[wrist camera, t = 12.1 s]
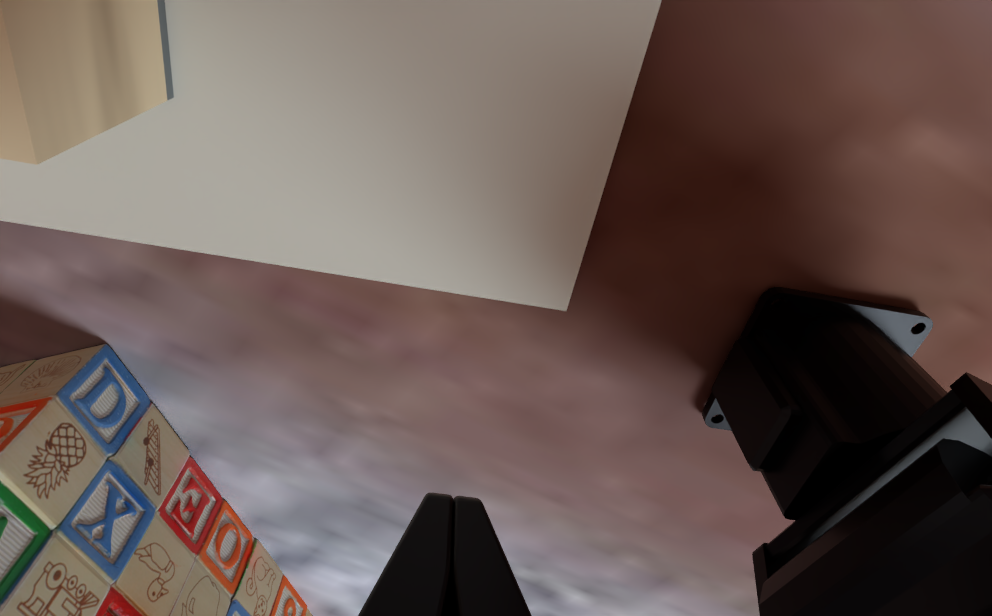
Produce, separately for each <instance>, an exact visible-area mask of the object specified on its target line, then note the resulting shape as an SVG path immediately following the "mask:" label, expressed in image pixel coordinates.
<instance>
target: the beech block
mask: <svg viewBox="0 0 992 616" xmlns="http://www.w3.org/2000/svg"><path fill="white" fill-rule="evenodd" d="M172 98H174V93H173V82H172V72H171V62H170V51H169V41H168V30H167V20H166V10H165V0H0V159H6V160H12V161H18V162H24V163H30V164H35V165H38V164H40V163H42V162H44V161H46V160H48V159H50V158H52V157H54V156H56V155H58V154H60V153H62V152H64V151H66V150H68V149H70V148H72V147H74V146H76V145H78V144H80V143H82V142H84V141H86V140H88V139H91V138H93V137H95V136H97V135H99V134H101V133H103V132H105V131H107V130H109V129H111V128H113V127H115V126H117V125H119V124H121V123H123V122H125V121H127V120H129V119H131V118H133V117H135V116H137V115H139V114H141V113H143V112H145V111H147V110H149V109H151V108H153V107H155V106H158V105H160V104H162V103H164V102H166V101H168V100H170V99H172Z"/></svg>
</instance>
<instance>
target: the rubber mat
mask: <svg viewBox="0 0 992 616" xmlns="http://www.w3.org/2000/svg"><path fill="white" fill-rule="evenodd" d="M661 1H662V0H165V10H166V20H167V30H168V41H169V51H170V62H171V72H172V82H173V93H174V98H172V99H170V100H168V101H166V102H164V103H162V104H160V105H158V106H155V107H153V108H151V109H149V110H147V111H145V112H143V113H141V114H139V115H137V116H135V117H133V118H131V119H129V120H127V121H125V122H123V123H121V124H119V125H117V126H115V127H113V128H111V129H109V130H107V131H105V132H103V133H101V134H99V135H97V136H95V137H93V138H91V139H88V140H86V141H84V142H82V143H80V144H78V145H76V146H74V147H72V148H70V149H68V150H66V151H64V152H62V153H60V154H58V155H56V156H54V157H52V158H50V159H48V160H46V161H44V162H42V163H40V164H38V165H35V164H30V163H24V162H18V161H12V160H6V159H0V220H1V221H7V222H13V223H19V224H26V225H32V226H38V227H44V228H51V229H57V230H63V231H69V232H76V233H82V234H88V235H94V236H100V237H107V238H113V239H119V240H125V241H132V242H138V243H144V244H150V245H157V246H163V247H169V248H175V249H182V250H188V251H194V252H200V253H207V254H213V255H219V256H225V257H232V258H238V259H244V260H250V261H257V262H263V263H269V264H275V265H281V266H288V267H294V268H300V269H306V270H313V271H319V272H325V273H331V274H338V275H344V276H350V277H356V278H363V279H369V280H375V281H381V282H388V283H394V284H400V285H406V286H413V287H419V288H425V289H431V290H438V291H444V292H450V293H456V294H462V295H469V296H475V297H481V298H487V299H494V300H500V301H506V302H512V303H519V304H525V305H531V306H537V307H544V308H550V309H556V310H562V311H567V307H568V304H569V301H570V298H571V294H572V291H573V288H574V285H575V281H576V278H577V275H578V272H579V268H580V265H581V262H582V259H583V255H584V252H585V249H586V245H587V242H588V239H589V236H590V232H591V229H592V226H593V223H594V219H595V216H596V213H597V210H598V206H599V203H600V200H601V197H602V193H603V190H604V187H605V183H606V180H607V177H608V174H609V170H610V167H611V164H612V161H613V157H614V154H615V151H616V148H617V144H618V141H619V138H620V135H621V131H622V128H623V125H624V122H625V118H626V115H627V112H628V108H629V105H630V102H631V99H632V95H633V92H634V89H635V86H636V82H637V79H638V76H639V73H640V69H641V66H642V63H643V60H644V56H645V53H646V50H647V47H648V43H649V40H650V37H651V33H652V30H653V27H654V24H655V20H656V17H657V14H658V11H659V7H660V4H661Z"/></svg>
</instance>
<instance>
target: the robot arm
mask: <svg viewBox="0 0 992 616" xmlns="http://www.w3.org/2000/svg"><path fill="white" fill-rule="evenodd" d="M777 299H780V301H779V302H778V303H777V304H775V305H771V304H772V302H773V301H775V300H777ZM917 323H918V324H917ZM915 324H917V325H916V326H915V327H913V326H914V325H915ZM932 327H933V322H932V320H931V319H930V318H929V317H928V316H926V315H925V314H924V313H922V312H920V311H915V310H909V309H903V308H897V307H892V306H886V305H880V304H874V303H868V302H863V301H857V300H851V299H845V298H839V297H834V296H828V295H822V294H816V293H810V292H805V291H799V290H793V289H787V288H781V287H774V288H771V289H768V290H767V291H765V292H764V293H763V294H762V296H761V297H760V299H759V301H758V303H757V305H756V307H755V309H754V311H753V313H752V315H751V317H750V319H749V321H748V322H747V324H746V326H745V328H744V330H743V332H742V334H741V336H740V338H739V339H738V340H736V342H735V344H734V346H733V348H732V350H731V352H730V354H729V356H728V357H727V359H726V361H725V363H724V365H723V367H722V369H721V371H720V373H719V375H718V377H717V379H716V381H715V383H714V385H713V387H712V393H711V395H710V397H709V399H708V401H707V403H706V405H705V407H704V409H703V411H702V416H703V419H704V421H705V423H706V425H707V426H709V427H711V428H717V429H724V430H731V431H732V432H733V434H734V436H735V438H736V440H737V442H738V444H739V446H740V448H741V450H742V452H743V454H744V456H745V458H746V460H747V462H748V464H749V466H750V467H751V468H752V470H753V471H761V473H762V475H763V477H764V479H765V481H766V483H767V484H768V486H769V488H770V490H771V492H772V494H773V496H774V498H775V500H776V502H777V504H778V506H779V508H780V510H781V512H782V514H783V515H784V517H785V518H786V519H790V520H796V521H795V522H793V523H792V524H791V525H790V526H789V527H787V528H786V529H785V530H784V531H783V532H781V533H780V534H779V535H778V536H777V537H775V538H774V539H773V540H772V541H771V542H770V543H763V544H762V545H761V546H760V547H759V548H757V549H756V550H755V551H754V552H753V554H752V555H753V564H754V572H755V580H756V588H757V596H758V604H759V613H760V616H992V385H991V384H989V383H987V382H985V381H983V380H981V379H979V378H977V377H975V376H973V375H971V374H969V373H967V372H966V373H965V374H963V375H962V376H961V377H960V378H959V379H958V380H956V381H955V382H954V383H953V384H952V385H950V388H951V389H952V390H951V391H949V392H948V393H947V392H946V391H945V390H944V389H943V388H942V387H941V386H940V385H939V384H938V383H937V382H936V381H935V380H934V379H933V378H932V377H931V376H930V375H929V374H928V373H927V372H926V371H925V370H924V369H923V368H922V367H921V366H920V365H919V364H918V363H917V362H916V361H915V360H914V359H913V358H912V356H913V355H914V353H915V352H916V350H917V349H918V348H919V346H920V345H921V343H922V342H923V341H924V339H925V338H926V337H927V335H928V334H929V332H930V331H931V329H932ZM716 414H719V415H718V416H715V417H713V416H714V415H716ZM358 616H531V613H530V611H529V609H528V607H527V604H526V602H525V600H524V597H523V595H522V593H521V590H520V588H519V586H518V584H517V581H516V579H515V577H514V574H513V572H512V570H511V567H510V565H509V563H508V561H507V558H506V556H505V554H504V551H503V549H502V547H501V544H500V542H499V540H498V538H497V535H496V533H495V531H494V528H493V526H492V524H491V521H490V519H489V517H488V515H487V512H486V510H485V508H484V505H483V503H482V502H481V500H479V499H478V498H472V497H464V496H456V497H455V498H454V499H453V498H452V496H451V495H447V494H439V493H428V494H426V495H425V497H424V499H423V500H422V502H421V504H420V506H419V508H418V509H417V511H416V513H415V515H414V517H413V518H412V520H411V522H410V524H409V525H408V527H407V529H406V531H405V533H404V534H403V536H402V538H401V540H400V542H399V543H398V545H397V547H396V549H395V551H394V552H393V554H392V556H391V558H390V559H389V561H388V563H387V565H386V567H385V568H384V570H383V572H382V574H381V576H380V577H379V579H378V581H377V583H376V585H375V586H374V588H373V590H372V592H371V594H370V595H369V597H368V599H367V601H366V603H365V604H364V606H363V608H362V610H361V611H360V613H359V615H358Z"/></svg>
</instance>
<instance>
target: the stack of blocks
mask: <svg viewBox="0 0 992 616" xmlns="http://www.w3.org/2000/svg"><path fill="white" fill-rule="evenodd" d="M189 455H190V453H189V450H188V449H187V448H186V447H185V445H184V444H183V443H182V441H181V440H180V439H179V437H178V436H177V435H176V433H175V432H174V431H173V429H172V428H171V427H170V425H169V424H168V423H167V422H166V420H165V419H164V418H163V416H162V415H161V414H160V412H159V411H158V410H157V408H156V407H155V406H154V404H152V403H151V402H150V400H149V398H148V396H147V395H146V393H145V392H144V391H143V389H142V388H141V387H140V386H139V385H138V383H137V381H136V380H135V379H134V378H133V376H132V375H131V374H130V373H129V371H128V370H127V369H126V368H125V366H124V365H123V363H122V362H121V361H120V360H119V359H118V357H117V356H116V354H115V353H114V352H113V350H112V349H111V348H110V347H109V346H108V345H107V344H103V345H99V346H95V347H90V348H85V349H81V350H76V351H72V352H68V353H64V354H60V355H55V356H51V357H46V358H42V359H40V360H30V361H26V362H21V363H17V364H12V365H8V366H4V367H1V368H0V616H313V615H312V614H311V613H310V611H309V610H308V609H307V605H306V604H305V602H304V601H303V600H302V598H301V597H300V596H299V594H298V593H297V592H296V590H295V589H294V588H293V586H292V585H291V584H290V582H289V581H288V579H287V578H286V577H285V576H284V575H283V573H282V571H281V570H280V569H279V567H278V565H277V564H276V563H275V561H274V560H273V559H272V557H271V556H270V555H269V553H268V552H267V551H266V549H265V548H264V547H263V546H262V544H261V543H260V542H259V540H257V539H254V537H253V536H252V534H251V532H250V531H249V530H248V529H247V528H246V527H245V525H244V524H243V523H242V522H241V520H240V519H239V517H238V516H237V515H236V513H235V512H234V511H233V510H232V508H231V507H230V506H229V504H228V503H227V502H226V501H225V500H223V499H222V497H221V495H220V494H219V493H218V491H217V490H216V489H215V487H214V486H213V484H212V483H211V482H210V480H209V479H208V478H207V476H206V475H205V474H204V473H203V472H202V470H201V469H200V467H199V466H198V465H197V463H196V462H195V461H194V459H193V458H191V457H190V456H189Z"/></svg>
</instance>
